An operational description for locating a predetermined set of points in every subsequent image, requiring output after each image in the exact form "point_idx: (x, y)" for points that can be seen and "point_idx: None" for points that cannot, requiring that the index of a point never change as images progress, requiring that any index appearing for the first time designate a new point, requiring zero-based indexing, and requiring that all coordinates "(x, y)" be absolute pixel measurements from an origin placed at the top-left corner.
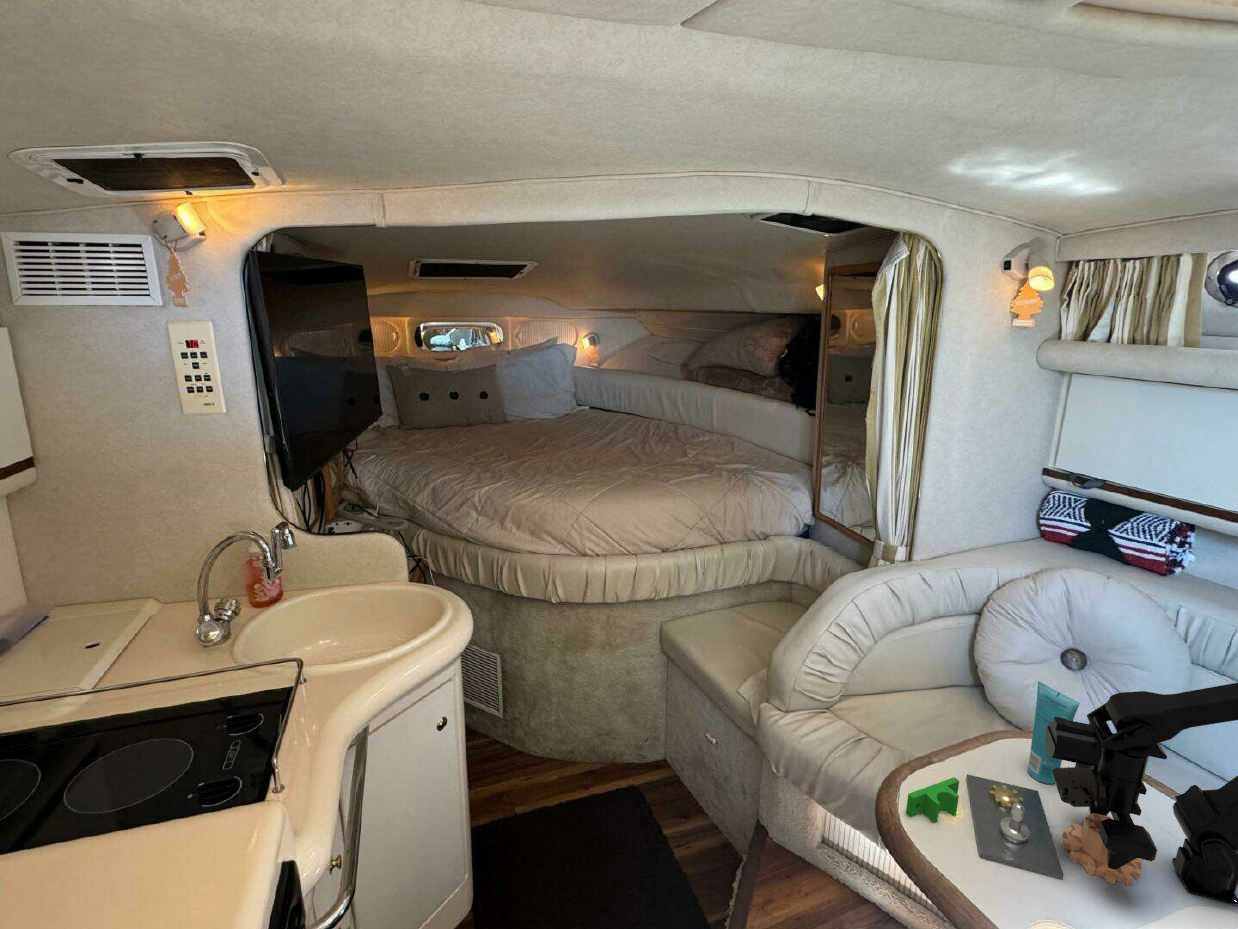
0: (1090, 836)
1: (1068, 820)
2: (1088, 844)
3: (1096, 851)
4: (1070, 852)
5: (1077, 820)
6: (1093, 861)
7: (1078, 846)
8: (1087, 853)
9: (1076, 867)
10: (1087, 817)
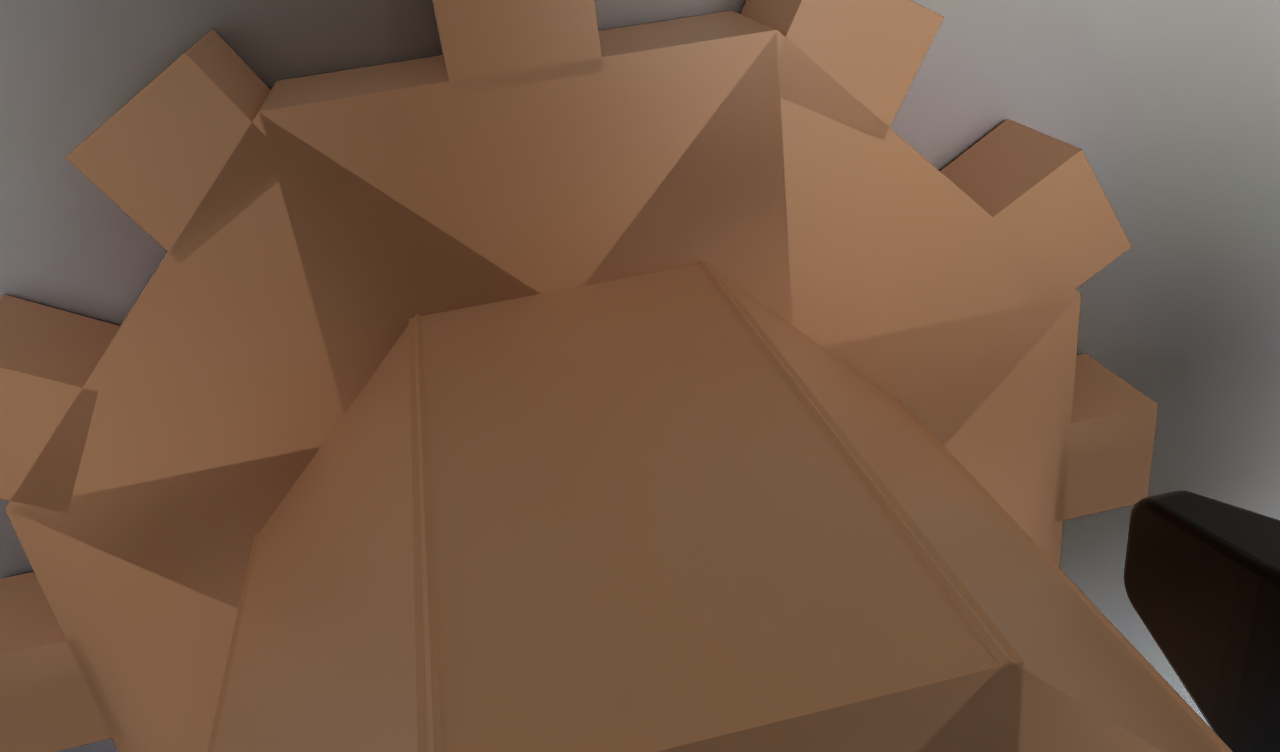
0: (373, 667)
1: (1233, 96)
2: (383, 483)
3: (277, 610)
4: (185, 58)
5: (1262, 234)
6: (206, 469)
7: (490, 232)
8: (368, 381)
9: (14, 151)
10: (1049, 739)
